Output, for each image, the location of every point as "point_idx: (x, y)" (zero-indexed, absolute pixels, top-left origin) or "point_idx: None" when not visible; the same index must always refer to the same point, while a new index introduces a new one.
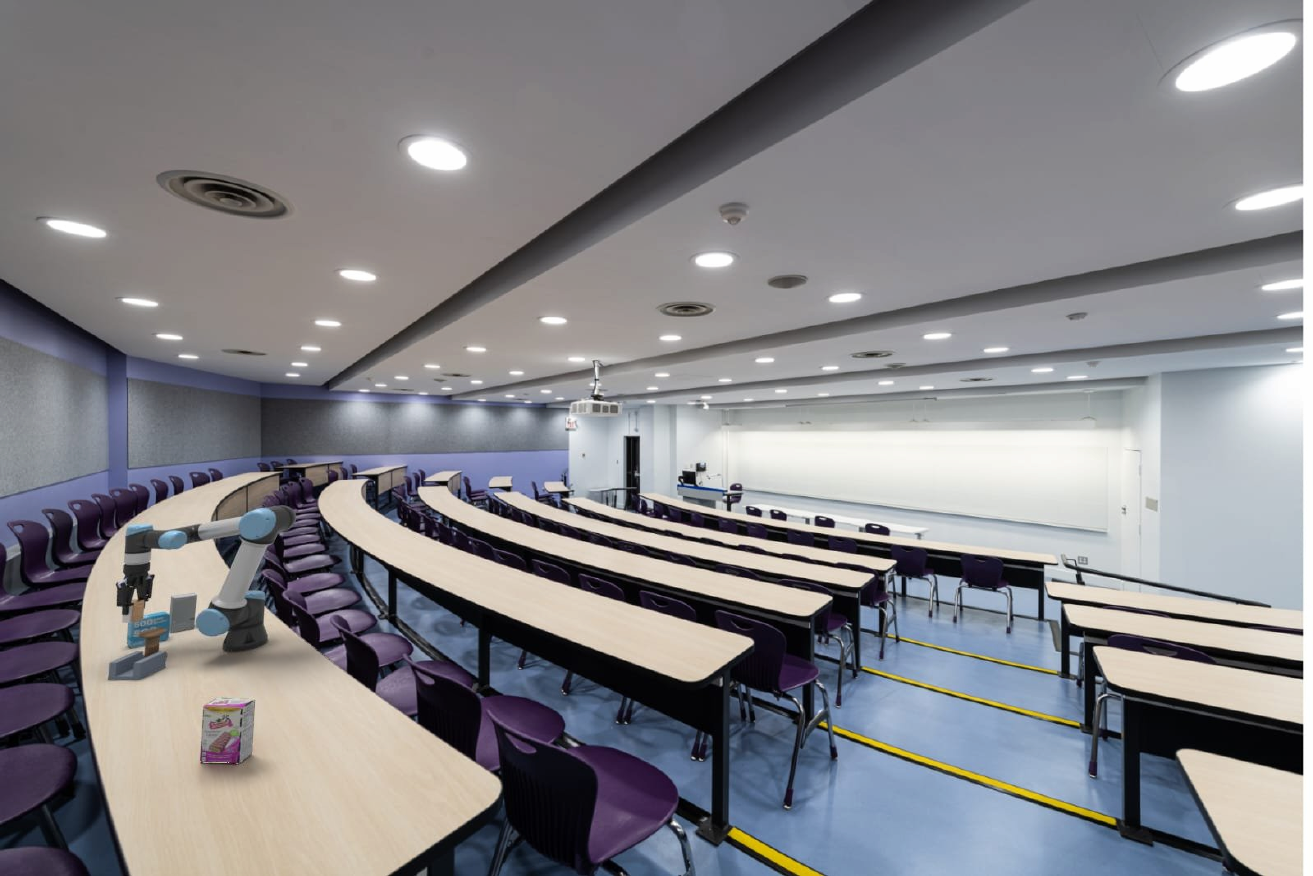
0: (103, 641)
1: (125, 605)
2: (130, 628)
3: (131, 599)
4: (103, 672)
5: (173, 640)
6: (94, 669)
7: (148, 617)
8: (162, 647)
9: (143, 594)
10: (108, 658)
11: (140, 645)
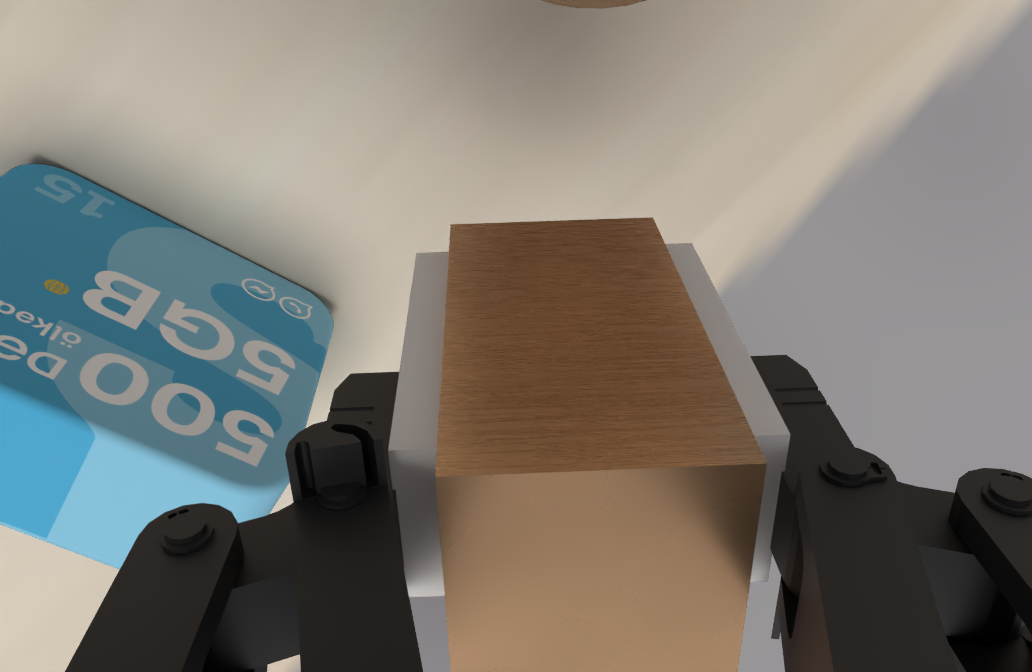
0: None
1: (965, 488)
2: None
3: (841, 594)
4: (902, 9)
5: (23, 85)
6: (813, 170)
7: (103, 430)
8: (226, 15)
9: (409, 651)
10: None
11: (262, 274)
